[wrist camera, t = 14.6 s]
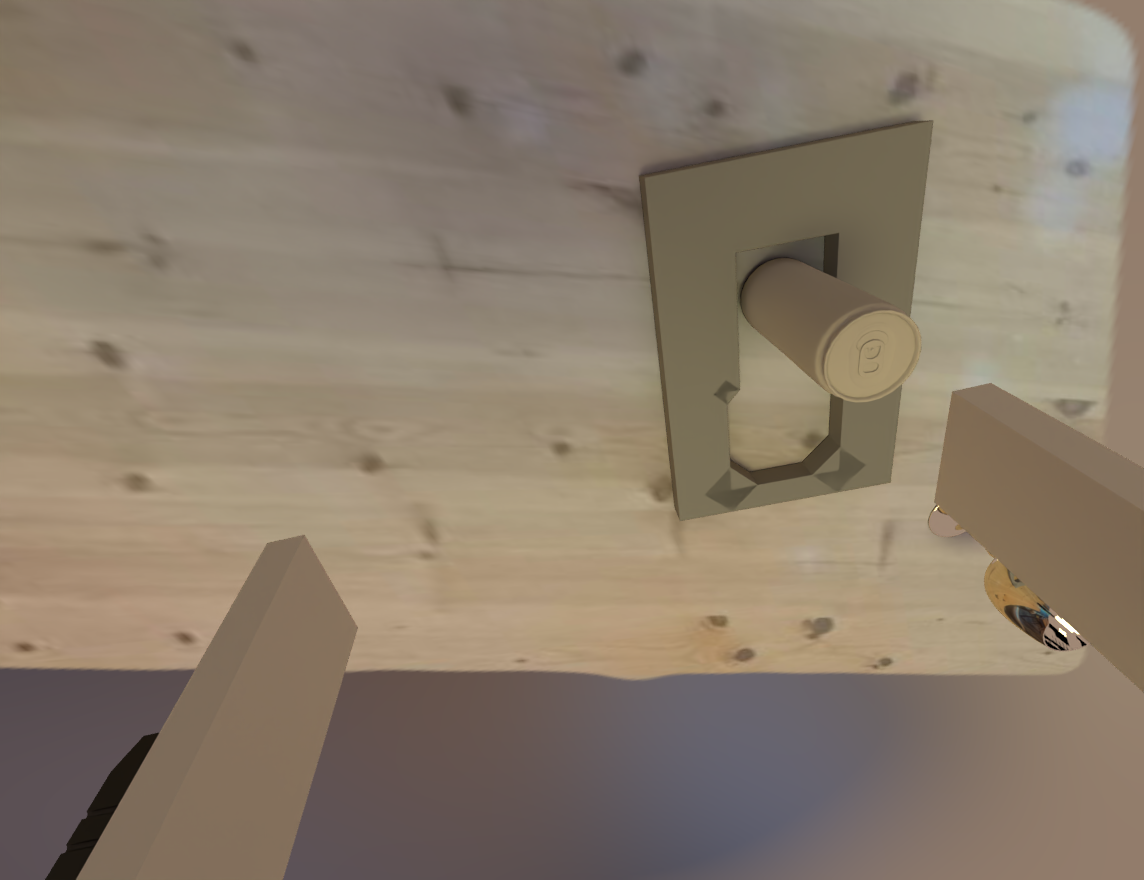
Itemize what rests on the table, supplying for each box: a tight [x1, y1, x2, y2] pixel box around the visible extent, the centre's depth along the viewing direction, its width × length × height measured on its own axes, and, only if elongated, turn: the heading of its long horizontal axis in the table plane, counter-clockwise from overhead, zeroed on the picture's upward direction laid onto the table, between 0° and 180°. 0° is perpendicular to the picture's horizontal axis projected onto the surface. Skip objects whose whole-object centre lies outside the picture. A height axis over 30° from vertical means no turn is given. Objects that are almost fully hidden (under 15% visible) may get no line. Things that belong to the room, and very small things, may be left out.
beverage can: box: [741, 258, 921, 402], centre depth 31 cm, size 5×5×12 cm
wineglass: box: [928, 505, 1090, 651], centre depth 41 cm, size 6×6×12 cm
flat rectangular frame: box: [639, 121, 933, 521], centre depth 38 cm, size 24×16×2 cm, turn 10°
